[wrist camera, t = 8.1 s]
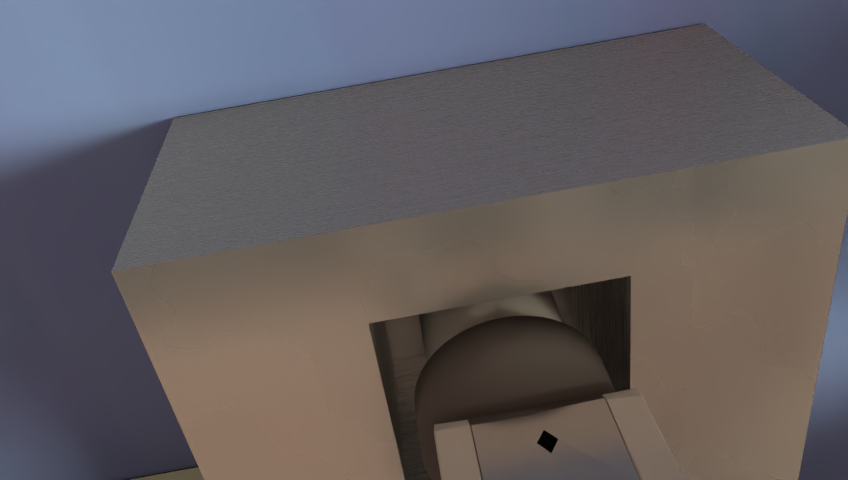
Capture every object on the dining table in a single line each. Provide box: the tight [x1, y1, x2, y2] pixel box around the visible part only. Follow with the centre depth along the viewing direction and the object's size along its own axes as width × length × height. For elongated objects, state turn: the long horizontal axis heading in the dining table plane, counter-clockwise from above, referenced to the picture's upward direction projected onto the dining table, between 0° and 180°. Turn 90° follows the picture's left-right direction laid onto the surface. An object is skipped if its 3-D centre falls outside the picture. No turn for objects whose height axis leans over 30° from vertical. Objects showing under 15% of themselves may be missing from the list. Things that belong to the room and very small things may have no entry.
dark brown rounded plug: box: [414, 290, 616, 480], centre depth 13 cm, size 3×3×4 cm
